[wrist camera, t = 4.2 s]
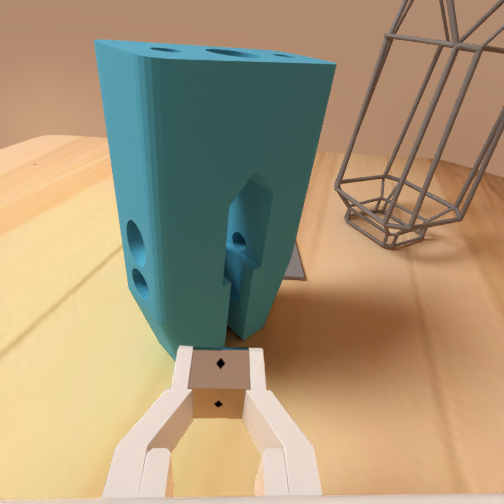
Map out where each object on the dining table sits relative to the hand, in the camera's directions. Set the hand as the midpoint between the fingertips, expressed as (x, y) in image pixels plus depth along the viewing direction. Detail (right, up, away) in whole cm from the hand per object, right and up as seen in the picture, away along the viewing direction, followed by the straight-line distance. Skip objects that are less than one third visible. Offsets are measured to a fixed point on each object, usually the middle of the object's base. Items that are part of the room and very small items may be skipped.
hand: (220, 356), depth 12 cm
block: (-2, -3, +16) cm, 16 cm away
